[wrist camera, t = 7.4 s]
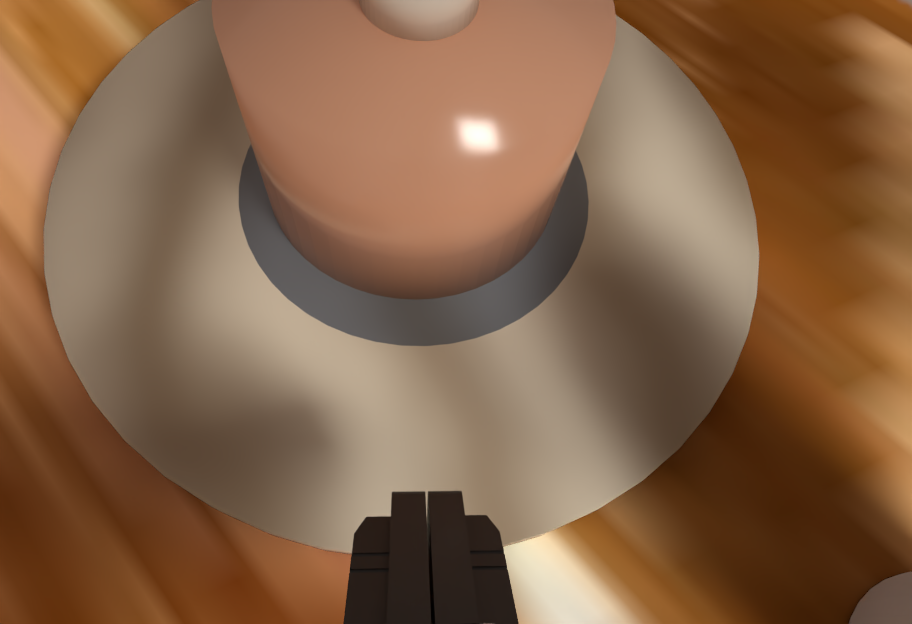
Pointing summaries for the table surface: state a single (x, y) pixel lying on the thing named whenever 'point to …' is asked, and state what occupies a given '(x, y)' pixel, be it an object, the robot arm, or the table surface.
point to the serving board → (395, 311)
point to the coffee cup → (886, 602)
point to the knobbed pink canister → (414, 128)
